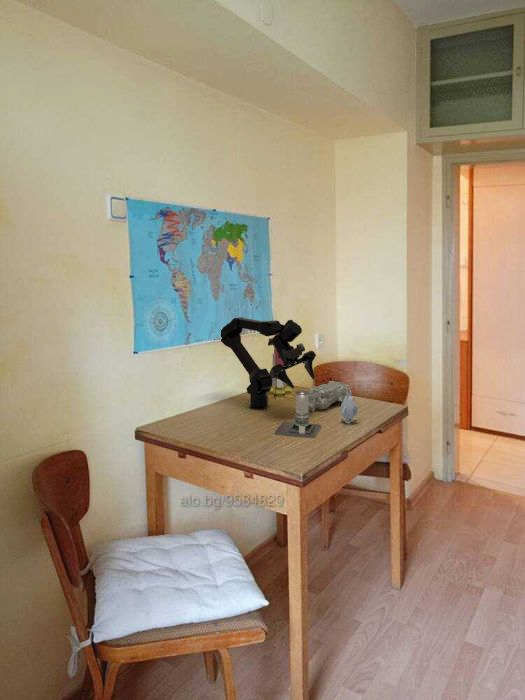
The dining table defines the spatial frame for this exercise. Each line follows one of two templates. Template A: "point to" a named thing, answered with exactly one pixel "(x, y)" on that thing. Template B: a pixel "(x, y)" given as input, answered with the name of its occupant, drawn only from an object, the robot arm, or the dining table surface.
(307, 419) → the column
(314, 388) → the stone
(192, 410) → the dining table surface
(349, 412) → the toy figure
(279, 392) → the toy rocket
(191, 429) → the dining table surface
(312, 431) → the stand base
